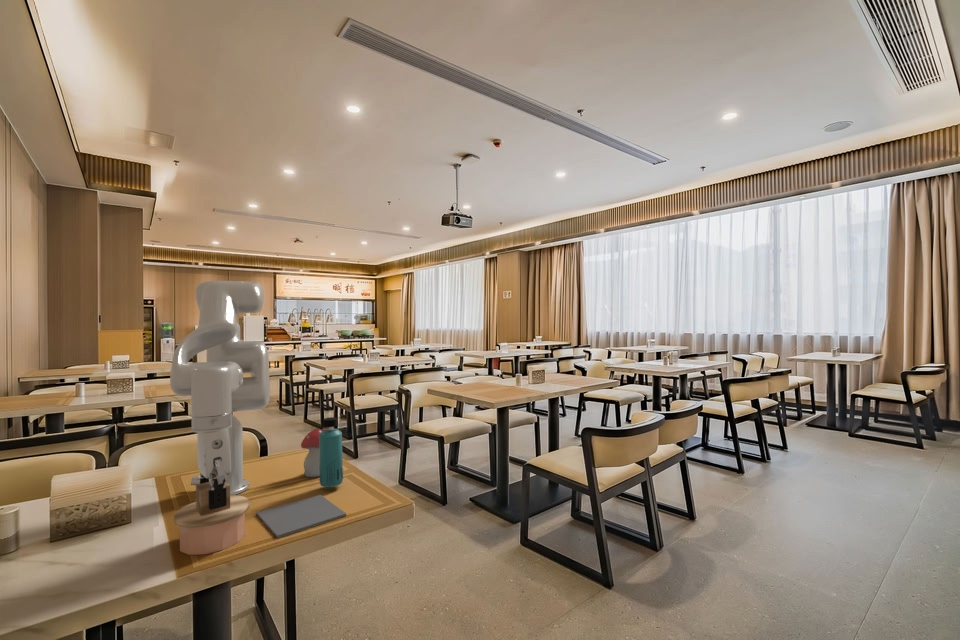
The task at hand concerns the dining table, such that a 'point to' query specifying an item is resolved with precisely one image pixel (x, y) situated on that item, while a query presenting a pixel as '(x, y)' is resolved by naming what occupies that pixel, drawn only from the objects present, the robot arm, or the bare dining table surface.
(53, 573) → the dining table surface
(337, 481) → the beverage bottle
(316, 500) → the mat
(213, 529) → the bowl
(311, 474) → the decorative ornament
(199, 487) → the lid
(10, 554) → the dining table surface
